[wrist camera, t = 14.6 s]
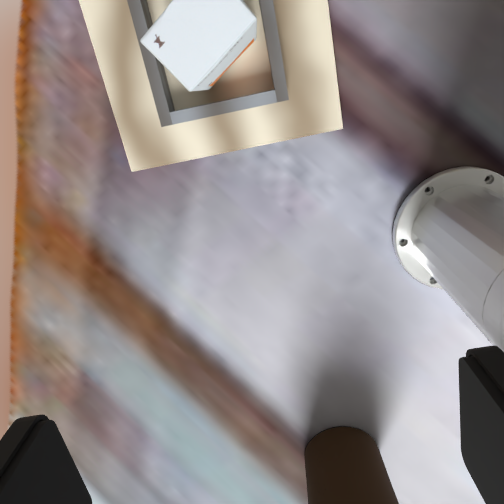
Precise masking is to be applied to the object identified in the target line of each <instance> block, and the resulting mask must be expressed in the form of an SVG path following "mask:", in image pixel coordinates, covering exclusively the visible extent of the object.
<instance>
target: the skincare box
mask: <svg viewBox="0 0 504 504" xmlns="http://www.w3.org/2000/svg"><path fill="white" fill-rule="evenodd" d="M256 34H257V17H256V16H255V14H254V13H253V12H252V11H251V10H250V8H249V7H248V6H247V5H246V3H245V2H244V1H243V0H172V1H171V2H170V4H169V5H168V6H167V8H166V9H165V10H164V12H163V13H162V14H161V15H160V16H159V18H158V19H157V20H156V21H155V22H154V24H153V25H152V26H151V27H150V29H149V30H148V31H147V32H146V33H145V35H144V36H143V37H142V38H141V40H140V42H141V43H142V44H143V45H144V46H145V47H146V48H147V49H148V50H149V51H150V52H151V53H152V54H153V55H154V56H155V57H156V58H157V59H158V60H159V61H160V62H161V63H162V64H163V65H164V66H165V67H166V68H167V69H168V70H169V71H170V72H171V74H172V75H173V76H174V77H175V78H176V79H177V80H178V81H179V82H180V83H181V84H182V85H183V86H184V87H185V88H186V89H187V90H188V91H190V92H191V91H201V90H209V89H211V87H212V86H213V85H214V84H215V83H216V82H217V81H218V80H219V78H220V77H221V76H222V75H223V74H224V73H225V72H226V71H227V70H228V68H229V67H230V66H231V65H232V64H233V63H234V62H235V61H236V60H237V59H238V58H239V57H240V56H241V55H242V54H243V53H244V52H245V51H246V50H247V49H248V48H249V46H250V45H251V44H252V43H253V42H254V41H255V40H256Z"/></svg>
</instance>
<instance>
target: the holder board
mask: <svg viewBox="0 0 504 504" xmlns="http://www.w3.org/2000/svg"><path fill="white" fill-rule="evenodd" d="M171 1H172V0H79V2H80V5H81V9H82V12H83V15H84V18H85V22H86V25H87V28H88V31H89V35H90V38H91V41H92V44H93V48H94V51H95V54H96V57H97V61H98V64H99V67H100V70H101V74H102V77H103V80H104V83H105V87H106V90H107V93H108V96H109V100H110V103H111V106H112V109H113V113H114V116H115V119H116V122H117V125H118V129H119V132H120V135H121V138H122V142H123V145H124V148H125V151H126V155H127V158H128V161H129V164H130V168H131V171H132V172H134V171H139V170H144V169H148V168H153V167H158V166H163V165H168V164H173V163H178V162H183V161H188V160H192V159H197V158H202V157H207V156H212V155H217V154H222V153H227V152H231V151H236V150H241V149H246V148H251V147H256V146H261V145H266V144H271V143H275V142H280V141H285V140H290V139H295V138H300V137H305V136H310V135H315V134H319V133H324V132H329V131H334V130H339V129H343V125H342V116H341V108H340V100H339V91H338V83H337V74H336V66H335V58H334V49H333V41H332V33H331V24H330V16H329V7H328V0H243V1H244V2H245V3H246V5H247V6H248V7H249V8H250V10H251V11H252V12H253V13H254V14H255V16H256V17H257V34H256V40H255V41H254V42H253V43H252V44H251V45H250V46H249V48H248V49H247V50H246V51H245V52H244V53H243V54H242V55H241V56H240V57H239V58H238V59H237V60H236V61H235V62H234V63H233V64H232V65H231V66H230V67H229V68H228V70H227V71H226V72H225V73H224V74H223V75H222V76H221V77H220V78H219V80H218V81H217V82H216V83H215V84H214V85H213V86H212V87H211V89H209V90H201V91H191V92H190V91H188V90H187V89H186V88H185V87H184V86H183V85H182V84H181V83H180V82H179V81H178V80H177V79H176V78H175V77H174V76H173V75H172V74H171V72H170V71H169V70H168V69H167V68H166V67H165V66H164V65H163V64H162V63H161V62H160V61H159V60H158V59H157V58H156V57H155V56H154V55H153V54H152V53H151V52H150V51H149V50H148V49H147V48H146V47H145V46H144V45H143V44H142V43H141V42H140V40H141V38H142V37H143V36H144V35H145V33H146V32H147V31H148V30H149V29H150V27H151V26H152V25H153V24H154V22H155V21H156V20H157V19H158V18H159V16H160V15H161V14H162V13H163V12H164V10H165V9H166V8H167V6H168V5H169V4H170V2H171Z"/></svg>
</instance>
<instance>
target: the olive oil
mask: <svg viewBox="0 0 504 504" xmlns="http://www.w3.org/2000/svg"><path fill="white" fill-rule="evenodd" d="M305 468H306V480H307V492H308V504H399V503H398V500H397V498H396V495H395V492H394V490H393V487H392V485H391V482H390V479H389V476H388V474H387V471H386V468H385V465H384V462H383V460H382V457H381V454H380V451H379V449H378V446H377V444H376V442H375V441H374V439H373V438H372V437H371V436H370V435H369V434H367V433H366V432H364V431H362V430H360V429H357V428H352V427H334V428H330V429H327V430H325V431H323V432H321V433H319V434H317V435H316V436H315V437H314V438H313V439H312V440H311V441H310V442H309V444H308V445H307V448H306V451H305Z"/></svg>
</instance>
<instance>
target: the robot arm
mask: <svg viewBox="0 0 504 504" xmlns="http://www.w3.org/2000/svg"><path fill="white" fill-rule="evenodd" d="M486 177H487V179H486V180H485V178H486ZM427 187H428V190H427V191H425V189H426V188H427ZM401 239H403V240H402V241H401V242H399V241H400V240H401ZM393 246H394V250H395V254H396V256H397V258H398V260H399V262H400V264H401V265H402V266H403V268H404V269H405V270H406V271H407V272H408V273H409V274H410V275H411V276H412V277H413V278H414V279H416V280H417V281H419V282H421V283H422V284H425V285H427V286H429V287H433V288H439V289H444V290H445V291H446V293H447V294H448V295H449V296H450V297H451V298H452V299H453V300H454V302H455V303H456V304H457V305H458V306H459V307H460V308H461V310H462V311H463V312H464V313H465V314H466V315H467V316H468V317H469V319H470V320H471V321H472V322H473V323H474V324H475V325H476V327H477V328H478V329H479V330H480V331H481V332H482V333H483V334H484V336H485V337H486V338H487V339H488V340H489V341H490V342H491V344H492V345H493V346H488V347H481V348H474V349H469V350H467V352H466V357H462V358H460V359H459V393H460V429H461V452H462V457H463V460H464V463H465V465H466V467H467V469H468V471H469V473H470V475H471V477H472V479H473V481H474V483H475V484H476V486H477V488H478V490H479V492H480V494H481V496H482V498H483V499H484V501H485V503H486V504H504V177H503V176H501V175H500V174H498V173H496V172H493V171H491V170H488V169H484V168H479V167H457V168H451V169H447V170H445V171H442V172H439V173H437V174H435V175H433V176H431V177H429V178H428V179H426V180H424V181H423V182H422V183H421V184H419V185H418V186H417V187H416V188H415V189H413V191H412V192H411V193H410V194H409V195H408V196H407V198H406V199H405V200H404V202H403V204H402V205H401V207H400V209H399V211H398V213H397V216H396V219H395V221H394V227H393ZM431 277H432V278H431ZM430 278H431V279H430ZM0 504H92V499H91V496H90V494H89V492H88V490H87V488H86V486H85V484H84V482H83V480H82V478H81V476H80V474H79V471H78V469H77V467H76V465H75V463H74V461H73V459H72V457H71V455H70V453H69V451H68V449H67V446H66V444H65V442H64V440H63V438H62V436H61V434H60V432H59V430H58V428H57V426H56V424H55V422H54V421H53V420H49V419H48V417H47V416H45V415H35V416H29V417H22V418H19V419H16V420H15V421H14V422H13V424H12V425H11V426H10V428H9V429H8V430H7V432H6V433H5V435H4V436H3V437H2V439H1V440H0Z"/></svg>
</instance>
